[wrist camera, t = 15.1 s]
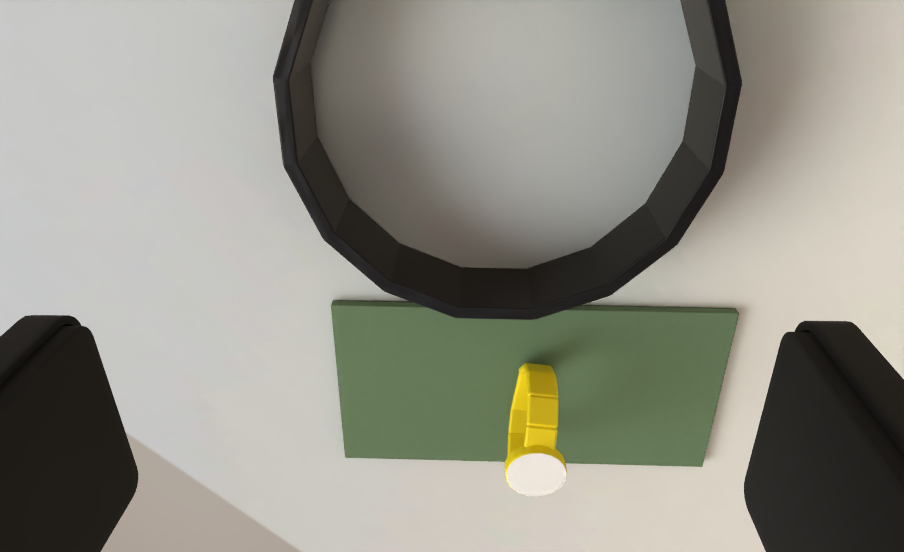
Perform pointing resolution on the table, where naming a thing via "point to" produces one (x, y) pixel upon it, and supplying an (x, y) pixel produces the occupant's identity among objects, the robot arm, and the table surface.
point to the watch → (534, 434)
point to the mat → (496, 372)
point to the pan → (547, 282)
